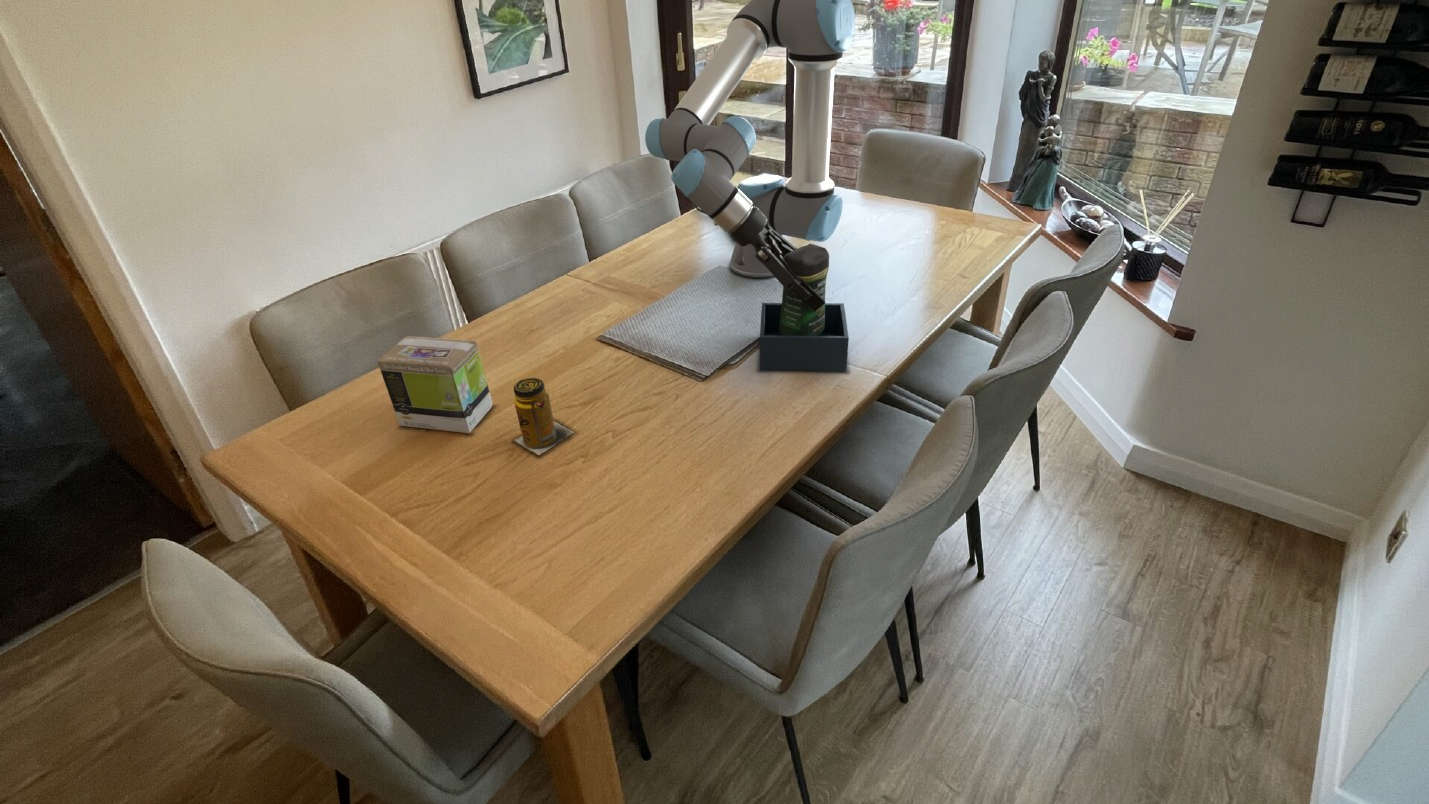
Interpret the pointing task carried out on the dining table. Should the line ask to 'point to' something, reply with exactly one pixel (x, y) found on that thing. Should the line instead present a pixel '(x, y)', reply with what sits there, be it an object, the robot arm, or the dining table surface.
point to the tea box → (436, 383)
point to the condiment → (536, 417)
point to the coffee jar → (794, 311)
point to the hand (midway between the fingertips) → (819, 294)
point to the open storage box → (804, 343)
